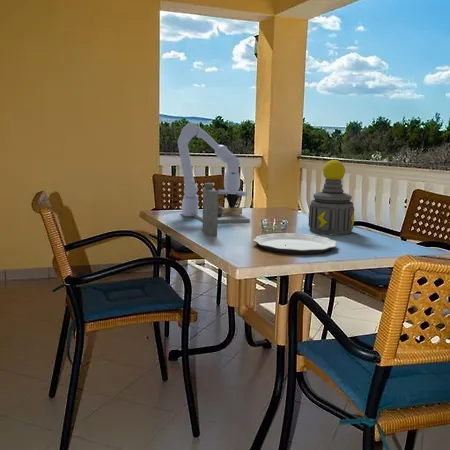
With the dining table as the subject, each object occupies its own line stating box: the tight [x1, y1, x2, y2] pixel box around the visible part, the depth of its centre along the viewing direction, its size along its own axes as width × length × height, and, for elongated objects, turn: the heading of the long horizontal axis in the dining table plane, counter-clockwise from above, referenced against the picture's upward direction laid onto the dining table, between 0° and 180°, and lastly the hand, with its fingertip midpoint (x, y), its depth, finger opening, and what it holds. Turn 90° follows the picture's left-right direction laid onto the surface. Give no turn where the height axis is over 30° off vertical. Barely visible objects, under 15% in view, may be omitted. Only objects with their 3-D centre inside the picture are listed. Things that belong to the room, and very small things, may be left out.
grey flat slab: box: [193, 212, 251, 224], centre depth 243 cm, size 20×22×2 cm
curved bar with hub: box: [218, 204, 243, 216], centre depth 243 cm, size 19×5×5 cm, turn 109°
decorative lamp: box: [307, 159, 355, 236], centre depth 216 cm, size 19×19×30 cm
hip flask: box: [201, 182, 219, 237], centre depth 207 cm, size 16×4×20 cm, turn 14°
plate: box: [252, 232, 338, 255], centre depth 186 cm, size 29×29×2 cm
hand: (232, 209), depth 251 cm, fingers closed
